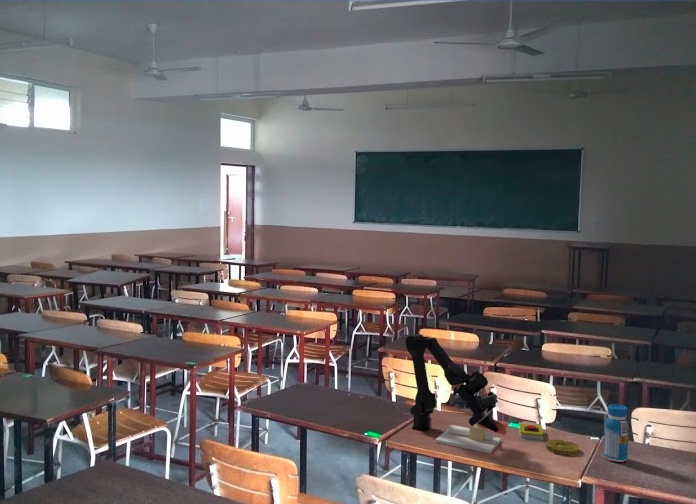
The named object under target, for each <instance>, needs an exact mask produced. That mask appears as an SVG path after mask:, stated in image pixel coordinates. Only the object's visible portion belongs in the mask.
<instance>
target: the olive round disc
mask: <svg viewBox="0 0 696 504" xmlns="http://www.w3.org/2000/svg"><path fill="white" fill-rule="evenodd" d="M545 448H546V450H547V452H549V453H552V454H558V455H563V456H564V455H566V456H569V457H574V456H577V455H578V454H579V451H580V447H579V445H578V444H576V443H575V442H572V441H568V440H563V439H550V440H547V442H545Z"/></svg>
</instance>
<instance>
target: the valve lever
mask: <svg viewBox="0 0 696 504" xmlns="http://www.w3.org/2000/svg"><path fill="white" fill-rule="evenodd" d="M494 422H495V424H496V426H497V429H498V432H496V433H498V434H501V435H503V436H504V435H507V429H508V428H507V427H508V426H507V425H508V424H507V423H506V422H502V421H500V420H497V419H494ZM477 423H478V422H477ZM477 423H476V425H477V426H480V427H483V428H486V427H484V426H482V425H480V424H477ZM486 429H487V430H489V431H491V430H490V429H488V428H486Z"/></svg>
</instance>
